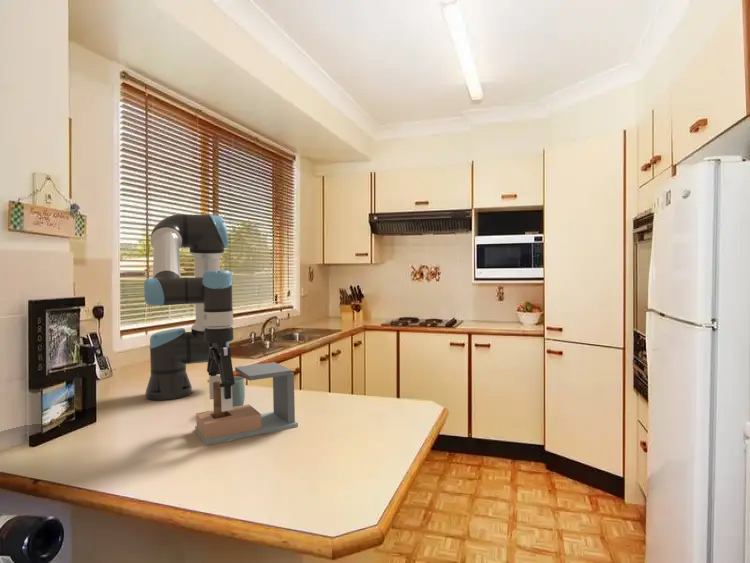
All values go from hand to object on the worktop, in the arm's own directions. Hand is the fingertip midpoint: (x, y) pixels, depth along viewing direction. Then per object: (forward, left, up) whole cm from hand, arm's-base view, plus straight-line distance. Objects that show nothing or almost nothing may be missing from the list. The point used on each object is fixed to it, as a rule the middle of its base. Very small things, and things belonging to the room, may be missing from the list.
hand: (220, 404), depth 127 cm
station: (0, +7, -8) cm, 11 cm away
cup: (-19, +8, -8) cm, 22 cm away
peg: (0, 0, -6) cm, 6 cm away
